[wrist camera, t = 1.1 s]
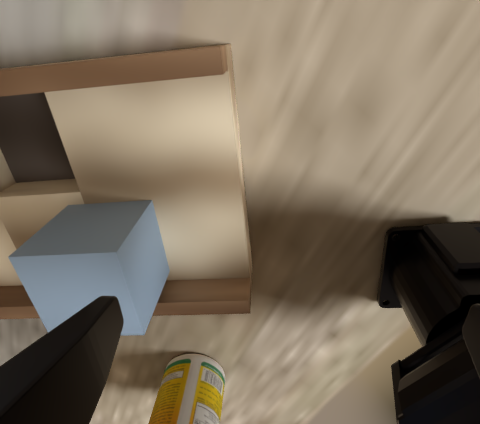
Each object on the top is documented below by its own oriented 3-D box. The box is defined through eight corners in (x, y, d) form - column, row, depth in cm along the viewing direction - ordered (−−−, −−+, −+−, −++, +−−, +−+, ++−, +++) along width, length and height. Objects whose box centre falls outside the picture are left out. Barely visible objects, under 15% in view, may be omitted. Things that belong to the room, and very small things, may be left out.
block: (169, 271, 21) (144, 335, 16) (94, 273, 21) (50, 336, 17) (152, 199, 18) (116, 252, 14) (67, 205, 19) (8, 256, 14)
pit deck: (252, 265, 23) (250, 313, 19) (-7, 275, 25) (-58, 320, 21) (230, 43, 16) (220, 46, 13) (-118, 81, 19) (-222, 94, 15)
